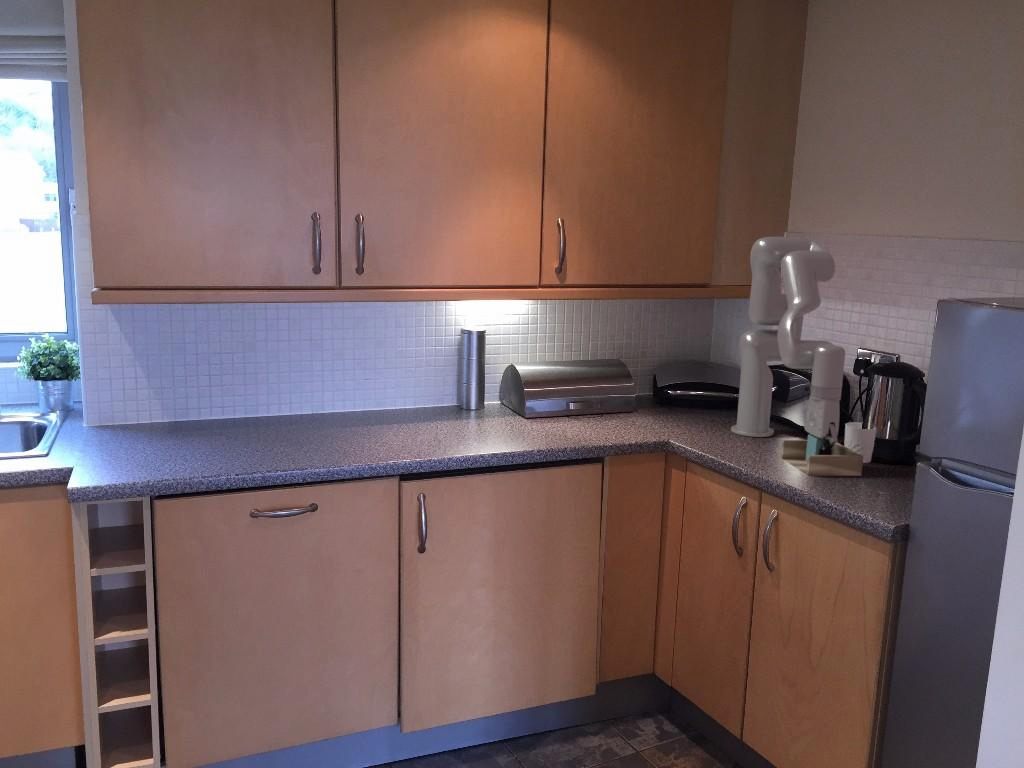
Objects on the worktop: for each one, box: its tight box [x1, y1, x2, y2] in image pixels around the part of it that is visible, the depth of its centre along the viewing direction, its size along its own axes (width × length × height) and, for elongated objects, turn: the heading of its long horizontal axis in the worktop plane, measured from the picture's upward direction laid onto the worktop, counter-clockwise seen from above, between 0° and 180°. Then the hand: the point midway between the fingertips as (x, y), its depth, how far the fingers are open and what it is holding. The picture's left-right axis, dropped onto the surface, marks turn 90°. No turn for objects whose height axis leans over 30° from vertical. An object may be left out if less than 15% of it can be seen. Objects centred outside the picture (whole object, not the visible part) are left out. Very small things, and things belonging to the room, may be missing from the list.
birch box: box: [780, 439, 864, 477], centre depth 229 cm, size 17×14×6 cm
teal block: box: [806, 434, 835, 461], centre depth 229 cm, size 5×5×7 cm
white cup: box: [843, 421, 877, 464], centre depth 237 cm, size 8×8×10 cm
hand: (819, 460), depth 230 cm, fingers closed on teal block, 5 cm apart
